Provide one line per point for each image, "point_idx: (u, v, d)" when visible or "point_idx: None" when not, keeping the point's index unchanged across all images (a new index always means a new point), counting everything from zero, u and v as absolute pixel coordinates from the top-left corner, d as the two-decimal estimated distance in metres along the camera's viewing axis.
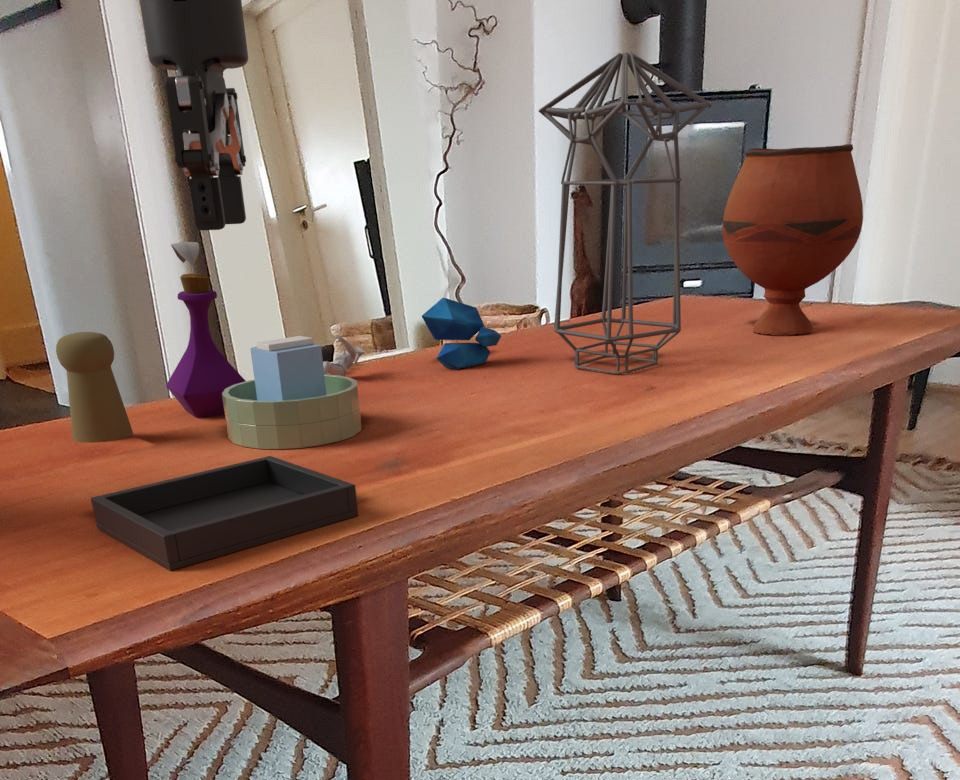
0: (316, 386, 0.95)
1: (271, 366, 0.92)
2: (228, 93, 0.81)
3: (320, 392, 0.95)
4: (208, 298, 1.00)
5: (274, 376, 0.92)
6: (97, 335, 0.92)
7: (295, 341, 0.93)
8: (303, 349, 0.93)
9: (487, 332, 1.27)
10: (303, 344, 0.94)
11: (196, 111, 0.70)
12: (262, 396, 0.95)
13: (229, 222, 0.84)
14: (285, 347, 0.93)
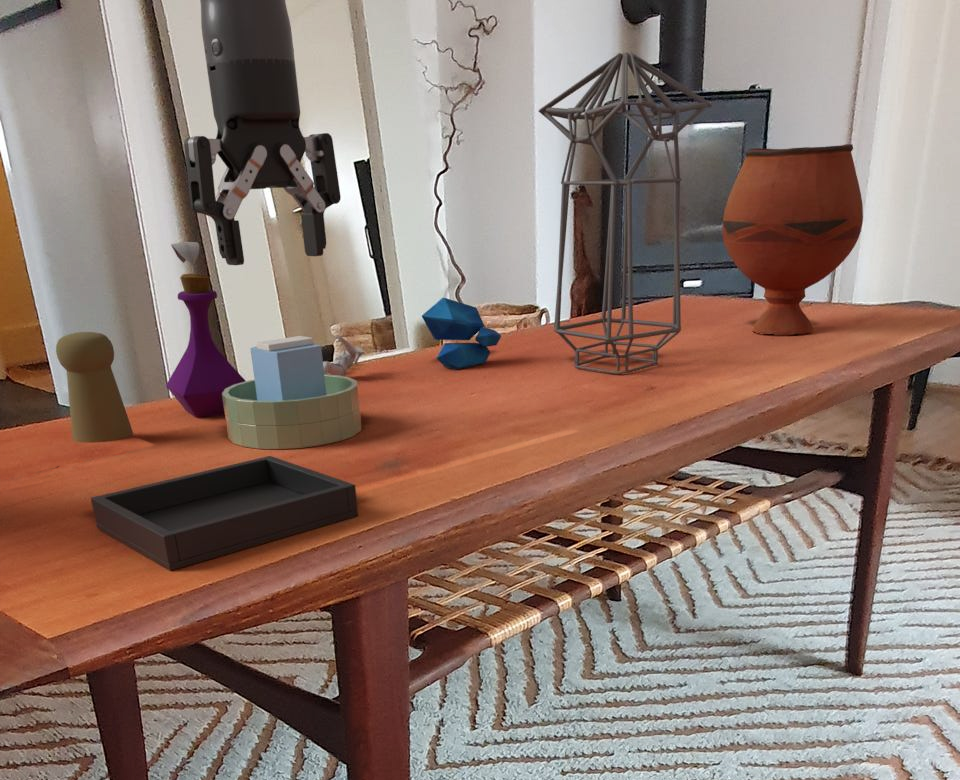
0: (316, 386, 0.95)
1: (271, 366, 0.92)
2: (319, 138, 0.89)
3: (320, 392, 0.95)
4: (208, 298, 1.00)
5: (274, 376, 0.92)
6: (97, 335, 0.92)
7: (295, 341, 0.93)
8: (303, 349, 0.93)
9: (487, 332, 1.27)
10: (303, 344, 0.94)
11: (197, 167, 0.82)
12: (262, 396, 0.95)
13: (310, 254, 0.93)
14: (285, 347, 0.93)
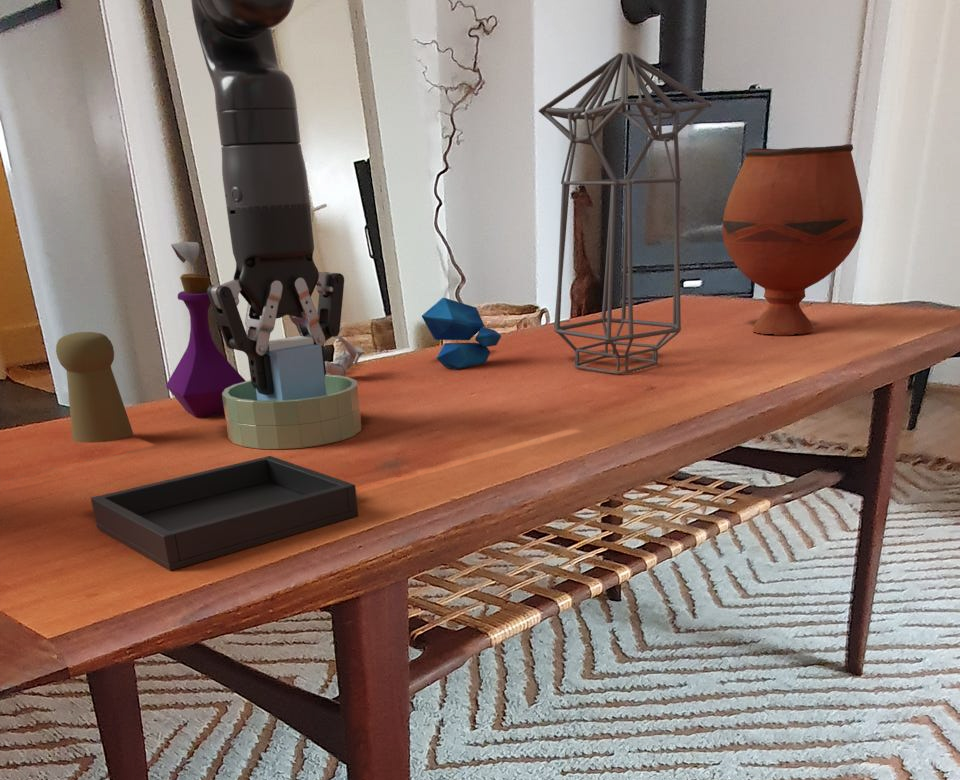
0: (316, 386, 0.95)
1: (271, 366, 0.92)
2: (332, 276, 0.94)
3: (320, 392, 0.95)
4: (208, 298, 1.00)
5: (274, 376, 0.92)
6: (97, 335, 0.92)
7: (295, 341, 0.93)
8: (303, 349, 0.93)
9: (487, 332, 1.27)
10: (303, 344, 0.94)
11: (224, 314, 0.88)
12: (262, 396, 0.95)
13: None
14: (285, 347, 0.93)
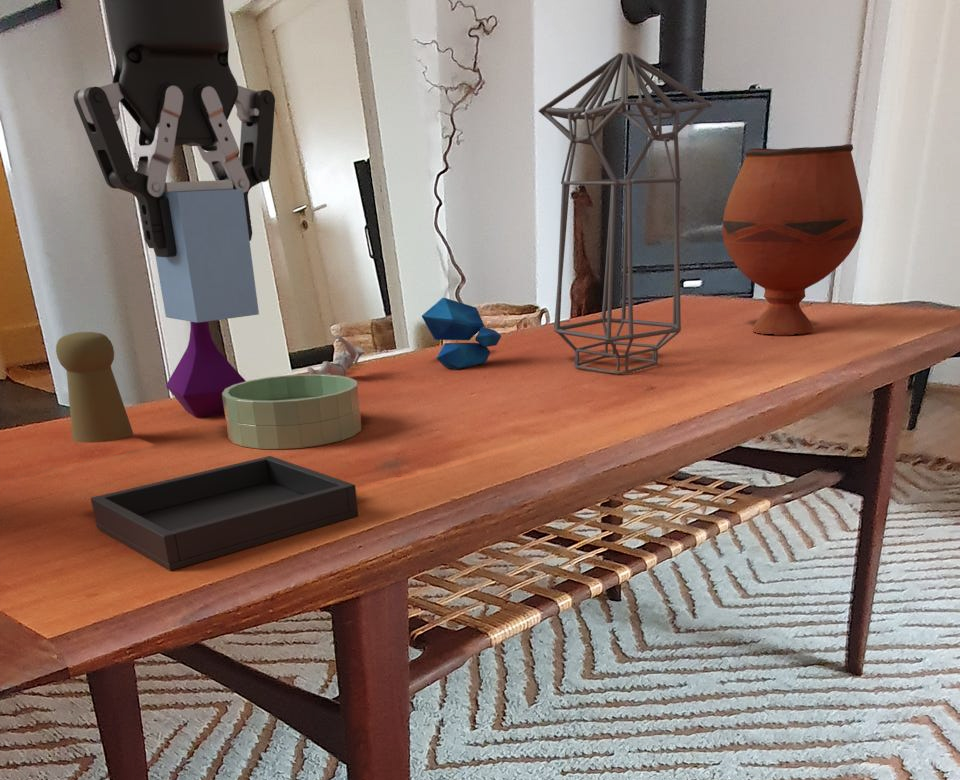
0: (237, 247, 0.69)
1: (172, 214, 0.66)
2: (257, 94, 0.68)
3: (242, 257, 0.69)
4: None
5: (176, 229, 0.66)
6: (97, 335, 0.92)
7: (206, 182, 0.67)
8: (216, 191, 0.66)
9: (487, 332, 1.27)
10: (218, 187, 0.68)
11: (98, 131, 0.62)
12: (163, 263, 0.69)
13: None
14: (191, 189, 0.67)
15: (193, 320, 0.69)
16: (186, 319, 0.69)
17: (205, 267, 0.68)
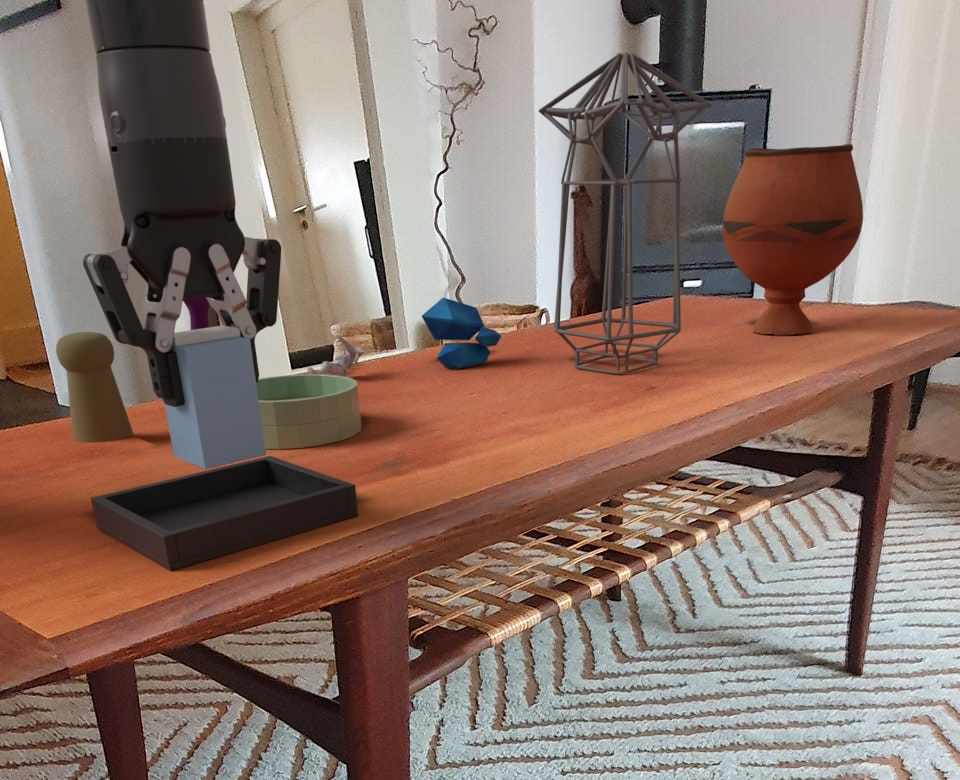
0: (244, 394, 0.69)
1: (180, 367, 0.67)
2: (264, 243, 0.69)
3: (250, 403, 0.70)
4: None
5: (184, 381, 0.67)
6: (97, 335, 0.92)
7: (213, 332, 0.68)
8: (224, 343, 0.67)
9: (487, 332, 1.27)
10: (225, 337, 0.68)
11: (107, 295, 0.63)
12: (171, 408, 0.70)
13: None
14: (199, 341, 0.67)
15: (201, 466, 0.69)
16: (194, 464, 0.70)
17: (213, 416, 0.68)
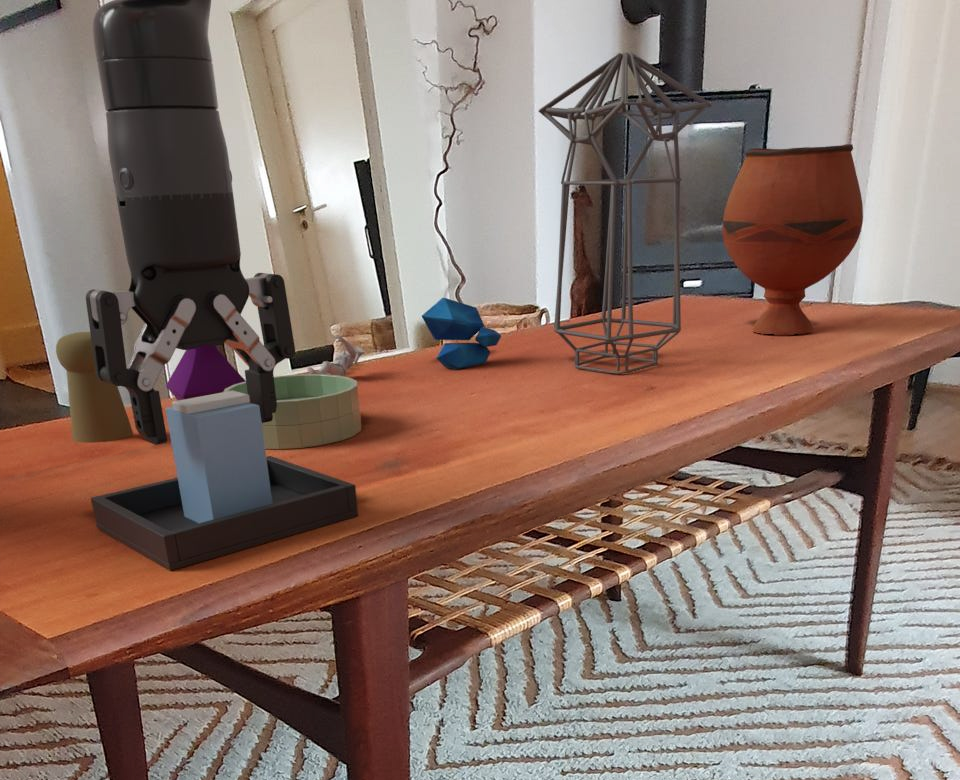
0: (254, 458, 0.71)
1: (191, 434, 0.69)
2: (266, 281, 0.70)
3: (258, 466, 0.72)
4: None
5: (196, 448, 0.69)
6: None
7: (224, 400, 0.70)
8: (234, 411, 0.69)
9: (487, 332, 1.27)
10: (235, 403, 0.70)
11: (101, 329, 0.63)
12: (182, 471, 0.72)
13: None
14: (210, 408, 0.69)
15: None
16: None
17: (223, 481, 0.70)
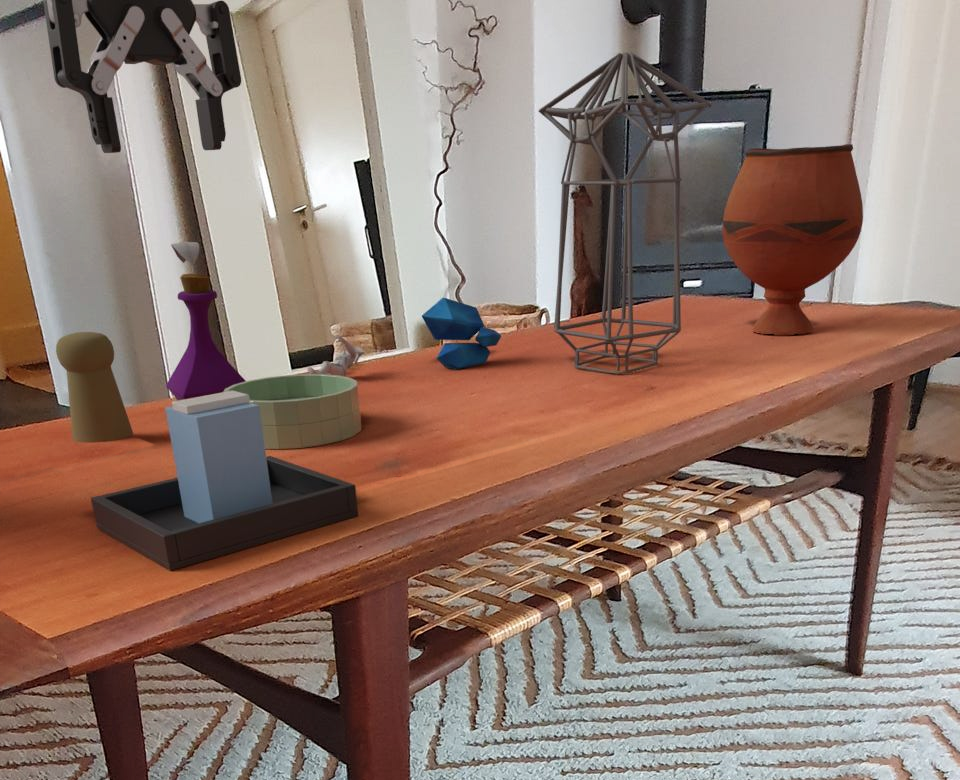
0: (254, 458, 0.71)
1: (191, 434, 0.69)
2: (212, 7, 0.76)
3: (258, 466, 0.72)
4: (208, 298, 1.00)
5: (196, 448, 0.69)
6: (97, 335, 0.92)
7: (224, 400, 0.70)
8: (234, 411, 0.69)
9: (487, 332, 1.27)
10: (235, 403, 0.70)
11: (56, 27, 0.70)
12: (182, 471, 0.72)
13: (207, 148, 0.80)
14: (210, 408, 0.69)
15: None
16: None
17: (223, 481, 0.70)
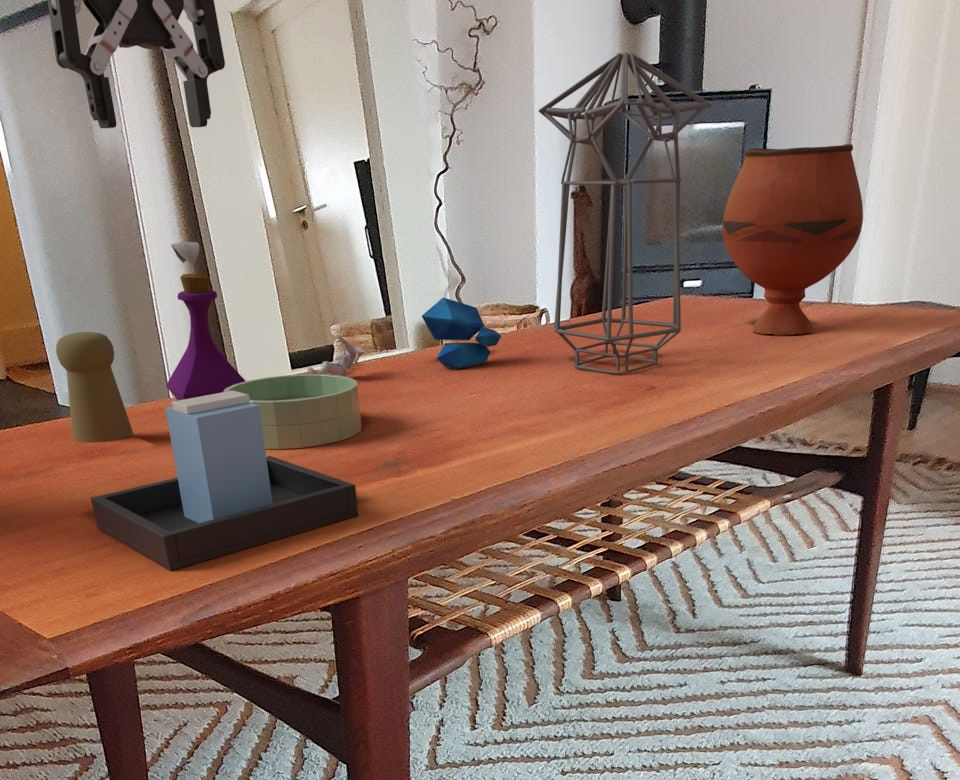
0: (254, 458, 0.71)
1: (191, 434, 0.69)
2: None
3: (258, 466, 0.72)
4: (208, 298, 1.00)
5: (196, 448, 0.69)
6: (97, 335, 0.92)
7: (224, 400, 0.70)
8: (234, 411, 0.69)
9: (487, 332, 1.27)
10: (235, 403, 0.70)
11: (58, 13, 0.77)
12: (182, 471, 0.72)
13: (194, 125, 0.88)
14: (210, 408, 0.69)
15: None
16: None
17: (223, 481, 0.70)
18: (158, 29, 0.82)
